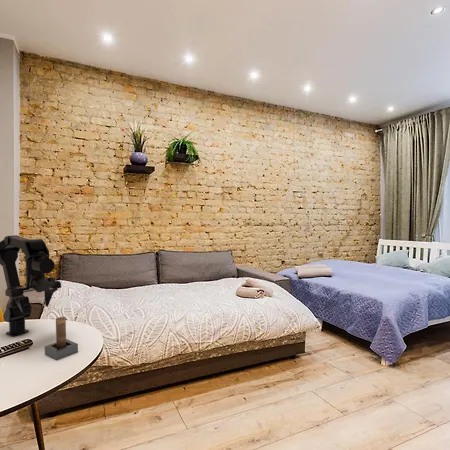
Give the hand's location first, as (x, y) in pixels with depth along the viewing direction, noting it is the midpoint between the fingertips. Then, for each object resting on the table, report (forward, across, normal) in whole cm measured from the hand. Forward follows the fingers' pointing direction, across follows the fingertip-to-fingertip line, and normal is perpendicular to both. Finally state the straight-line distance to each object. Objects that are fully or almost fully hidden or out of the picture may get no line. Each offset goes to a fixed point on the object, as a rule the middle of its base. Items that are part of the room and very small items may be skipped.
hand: (35, 309), depth 126 cm
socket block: (+13, 0, -19) cm, 23 cm away
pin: (+13, 0, -19) cm, 23 cm away
